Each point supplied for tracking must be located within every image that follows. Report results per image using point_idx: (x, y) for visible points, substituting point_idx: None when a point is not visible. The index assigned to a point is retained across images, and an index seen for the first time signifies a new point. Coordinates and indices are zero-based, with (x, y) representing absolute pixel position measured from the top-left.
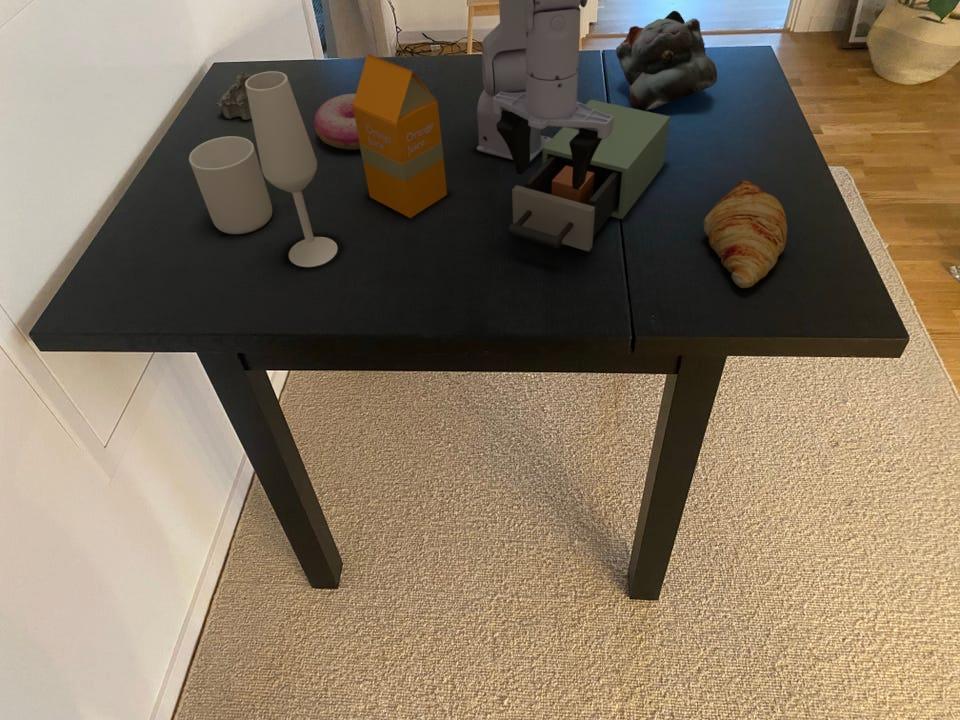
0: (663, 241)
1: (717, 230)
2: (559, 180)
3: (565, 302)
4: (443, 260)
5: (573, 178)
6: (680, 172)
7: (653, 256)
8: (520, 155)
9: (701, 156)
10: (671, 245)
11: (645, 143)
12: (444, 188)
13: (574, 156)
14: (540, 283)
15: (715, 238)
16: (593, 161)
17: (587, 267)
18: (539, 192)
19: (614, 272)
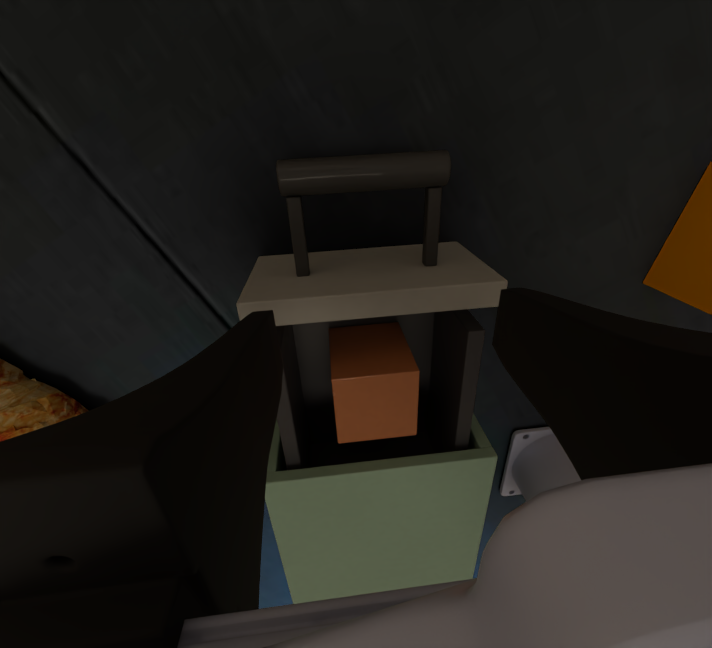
0: (168, 370)
1: (30, 425)
2: (400, 380)
3: (193, 49)
4: (578, 37)
5: (255, 326)
6: (270, 519)
7: (150, 323)
8: (554, 332)
9: (266, 555)
10: (147, 368)
11: (287, 559)
12: (661, 284)
13: (195, 392)
14: (297, 93)
15: (28, 406)
16: (354, 470)
17: (239, 218)
18: (424, 308)
19: (177, 234)
